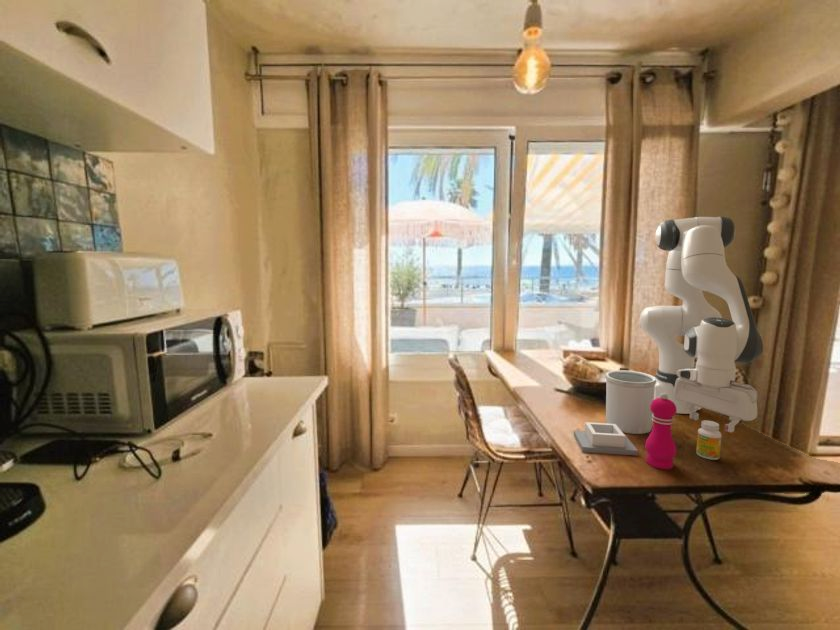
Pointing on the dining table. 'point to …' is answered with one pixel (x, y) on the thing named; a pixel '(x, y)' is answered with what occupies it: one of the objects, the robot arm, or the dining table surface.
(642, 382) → the utensil holder
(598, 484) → the dining table surface
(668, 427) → the pepper mill
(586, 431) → the docking board
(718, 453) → the supplement bottle
